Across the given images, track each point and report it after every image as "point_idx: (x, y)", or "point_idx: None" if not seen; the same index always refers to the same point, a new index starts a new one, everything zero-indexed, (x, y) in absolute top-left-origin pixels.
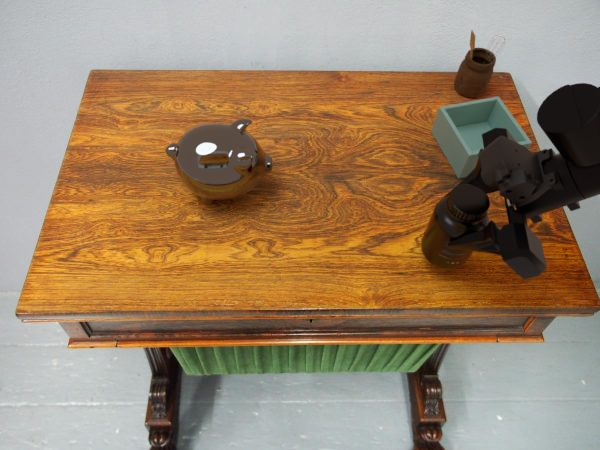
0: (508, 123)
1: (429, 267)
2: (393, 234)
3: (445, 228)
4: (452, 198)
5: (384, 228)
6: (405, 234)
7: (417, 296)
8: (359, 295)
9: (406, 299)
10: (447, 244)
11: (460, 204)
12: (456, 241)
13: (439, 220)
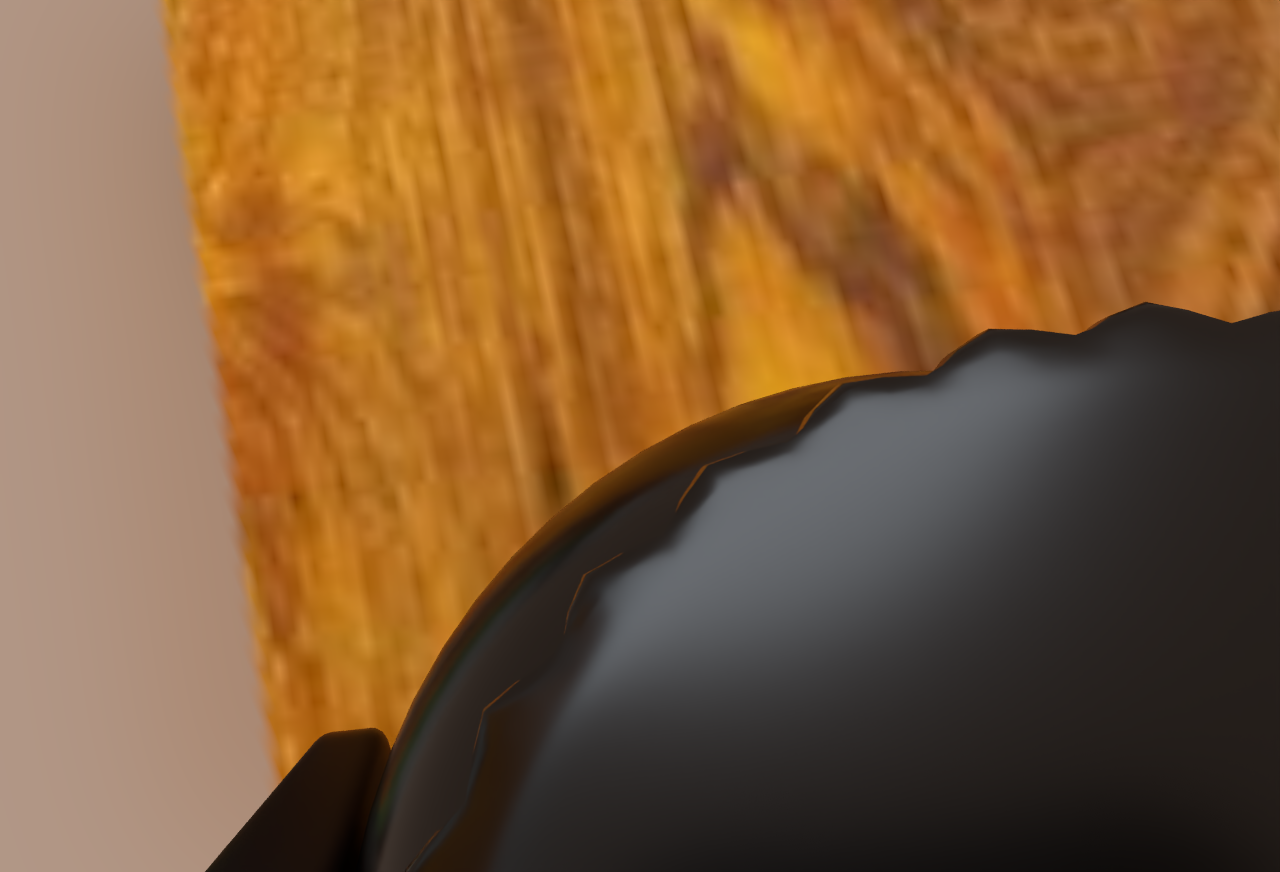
0: None
1: None
2: None
3: (496, 589)
4: (1082, 383)
5: (1001, 293)
6: None
7: (345, 646)
8: (284, 171)
9: (301, 550)
10: (359, 730)
11: (859, 742)
12: (262, 866)
13: (680, 450)
